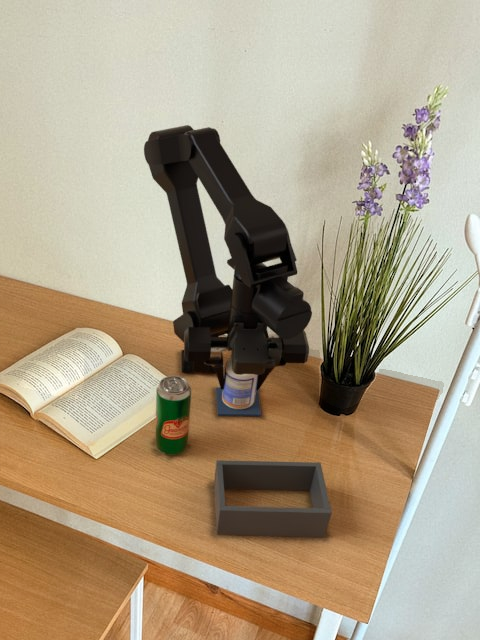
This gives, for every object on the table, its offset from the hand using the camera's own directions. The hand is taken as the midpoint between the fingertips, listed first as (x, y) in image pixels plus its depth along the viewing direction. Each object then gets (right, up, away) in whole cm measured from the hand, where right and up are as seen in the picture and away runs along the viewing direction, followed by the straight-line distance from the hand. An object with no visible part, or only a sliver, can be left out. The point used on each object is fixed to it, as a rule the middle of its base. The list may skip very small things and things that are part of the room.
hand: (239, 388), depth 113 cm
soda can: (-11, -10, -5) cm, 16 cm away
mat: (0, -2, +2) cm, 3 cm away
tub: (+1, -19, -15) cm, 24 cm away
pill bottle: (0, -2, +2) cm, 3 cm away
